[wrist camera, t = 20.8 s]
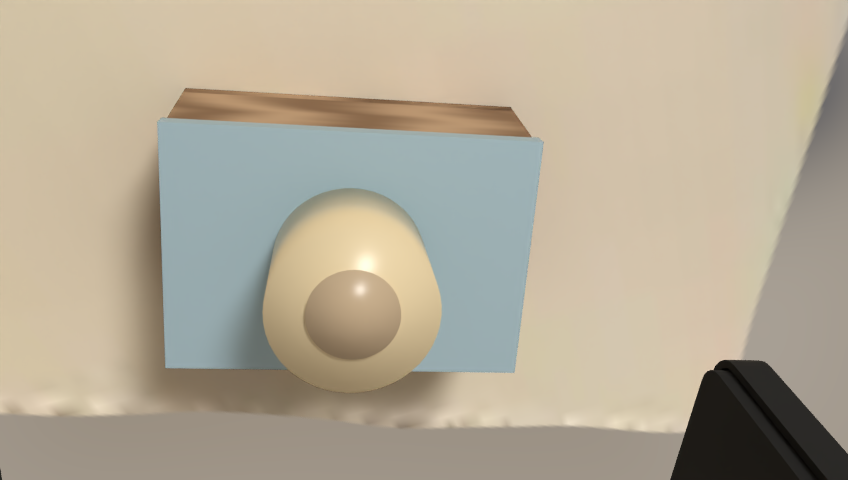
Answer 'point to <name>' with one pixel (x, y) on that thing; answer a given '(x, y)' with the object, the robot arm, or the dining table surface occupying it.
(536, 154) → the lid
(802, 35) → the dining table surface
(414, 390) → the dining table surface
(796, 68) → the dining table surface
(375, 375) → the cream bottle with knob
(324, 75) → the dining table surface
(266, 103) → the crate
